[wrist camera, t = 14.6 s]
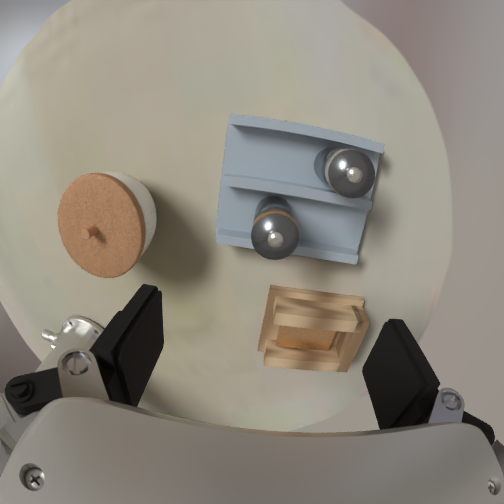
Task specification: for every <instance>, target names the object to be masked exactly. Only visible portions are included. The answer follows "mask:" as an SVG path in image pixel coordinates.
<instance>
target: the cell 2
mask: <svg viewBox="0 0 504 504" xmlns="http://www.w3.org/2000/svg"><path fill="white" fill-rule="evenodd" d="M314 170H315V173H316V175H317V176H318V178H319V179H320V180H322V181H323V182H324V183H326V184H327V185H328V186H330V187H331V188H332V189H333V190H334V191H335V192H337V193H338V194H339V195H341V196H343V197H346V198H359V197H362V196H364V195H365V194H366V193H368V192H369V191H370V189H371V188H372V186H373V184H374V181H375V168H374V165H373V163H372V161H371V160H370V158H369V157H368V156H367V155H365V154H364V153H362V152H360V151H358V150H353V149H341V148H326V149H323V150H322V151H320V152H319V153H318V154H317V156H316V158H315V160H314Z"/></svg>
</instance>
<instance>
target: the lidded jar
mask: <svg viewBox="0 0 504 504" xmlns="http://www.w3.org/2000/svg"><path fill="white" fill-rule="evenodd" d="M156 221H157V216H156V207H155V204H154V201H153V198H152V196H151V194H150V192H149V191H148V189H147V188H146V187H145V186H144V185H143V184H142V183H141V182H140V181H139V180H137V179H136V178H134V177H133V176H131V175H128V174H126V173H122V172H115V171H107V172H99V173H90V174H87V175H83V176H81V177H79V178H77V179H75V180H74V181H73V182H72V183H70V185H69V186H68V187H67V188H66V190H65V192H64V193H63V195H62V198H61V201H60V204H59V209H58V227H59V232H60V236H61V239H62V242H63V244H64V246H65V248H66V250H67V252H68V253H69V255H70V256H71V258H72V259H73V260H74V261H75V262H76V263H77V264H78V265H79V266H80V267H81V268H82V269H84V270H85V271H87V272H88V273H90V274H92V275H95V276H98V277H103V278H114V277H118V276H121V275H123V274H125V273H126V272H128V271H129V270H130V269H131V268H132V267H133V266H134V265H135V264H136V263H137V261H138V260H139V258H140V257H141V256H142V255H143V254H144V252H145V251H146V249H147V248H148V246H149V244H150V243H151V240H152V238H153V236H154V233H155V229H156Z"/></svg>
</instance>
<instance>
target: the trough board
mask: <svg viewBox="0 0 504 504" xmlns="http://www.w3.org/2000/svg"><path fill="white" fill-rule="evenodd" d="M384 145H385V144H382V143H379V142H376V141H372V140H369V139H365V138H362V137H358V136H354V135H350V134H346V133H342V132H338V131H334V130H329V129H325V128H320V127H315V126H310V125H305V124H300V123H294V122H289V121H283V120H276V119H270V118H263V117H255V116H247V115H238V114H231V116H230V115H229V119H228V127H227V134H226V141H225V149H224V157H223V165H222V173H221V182H220V191H219V200H218V209H217V219H216V229H215V236H217V238H216V243H218V244H224V245H231V246H238V247H244V248H251V249H254V247H253V245H252V241H251V231H252V226H253V221H254V216H255V210H256V207H257V205H258V203H259V202H260V201H261V200H262V199H264V198H266V197H269V196H278V197H281V198H283V199H284V200H286V201H287V203H288V204H289V205H290V208H291V211H292V213H293V216H294V219H295V222H296V224H297V227H298V230H299V242H298V245H297V247H296V249H295V250H294V252H293V253H292V254H291V255H297V256H304V257H310V258H317V259H323V260H330V261H336V262H343V263H349V264H357V261H358V257H359V256H358V254H357V251H358V247H359V244H360V240H361V236H362V232H363V229H364V225H365V221H366V217H367V213H368V210H369V211H371V208H372V204H373V201H371V196H372V191H373V186H374V184H373V186H372V188H371V189H370V191H369V192H368V193H366V194H365V195H364V196H362V197H359V198H346V197H343V196H341V195H339V194H338V193H337V192H335V191H334V190H333V189H332V188H331V187H330V186H328V185H327V184H326V183H324V182H323V181H322V180H320V179H319V178H318V176H317V175H316V173H315V170H314V160H315V158H316V156H317V154H318V153H319V152H320V151H322V150H323V149H326V148H341V149H353V150H358V151H360V152H362V153H364V154H365V155H367V156H368V157H369V158H370V160H371V161H372V163H373V165H374V168H375V177H376V172H377V167H378V162H379V156H380V153H382V154H383V150H384ZM374 182H375V181H374Z"/></svg>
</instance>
